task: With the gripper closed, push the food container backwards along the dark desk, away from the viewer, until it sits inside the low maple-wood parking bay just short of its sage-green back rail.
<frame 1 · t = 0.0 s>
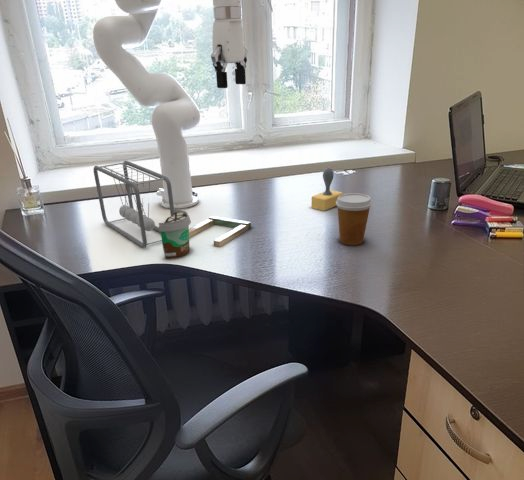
hand: (231, 85, 151), 37 cm above the table, tool pointing down, fingers open, 9 cm apart
disposable coffee cup: (351, 241, 146), on the table
rubber stamp: (327, 206, 174), on the table
parking bay: (215, 233, 154), on the table
food container: (182, 253, 142), on the table
newton's cradle: (139, 232, 158), on the table
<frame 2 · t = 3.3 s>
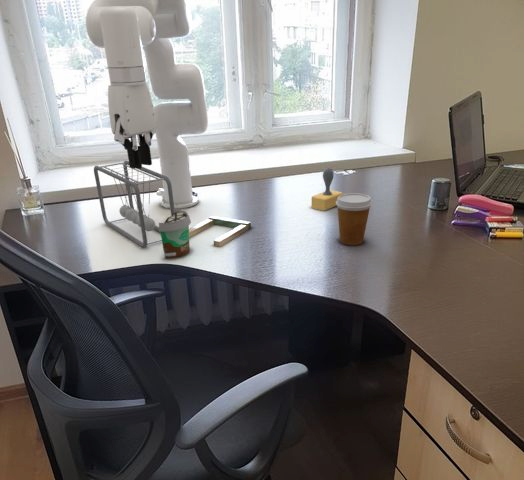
hand: (140, 165, 121), 25 cm above the table, tool pointing down, fingers closed
nothing on the table moved.
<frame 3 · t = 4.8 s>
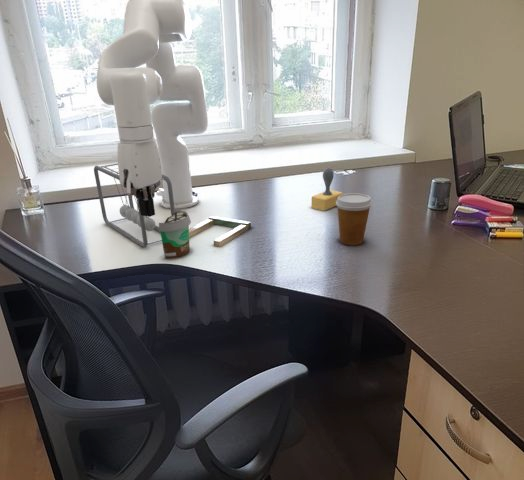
hand: (148, 214, 127), 14 cm above the table, tool pointing down, fingers closed
nothing on the table moved.
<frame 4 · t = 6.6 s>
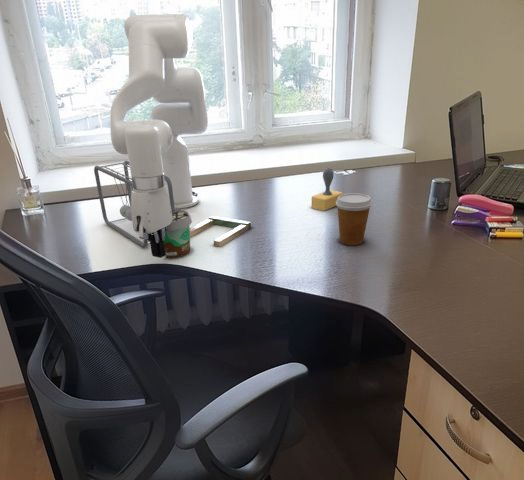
hand: (158, 255, 134), 3 cm above the table, tool pointing down, fingers closed
food container: (182, 252, 142), on the table, touching gripper
everything else where it was.
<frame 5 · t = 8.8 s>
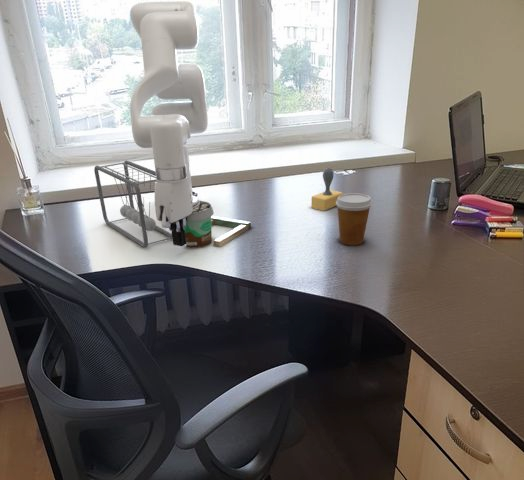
hand: (179, 244, 140), 3 cm above the table, tool pointing down, fingers closed
food container: (204, 243, 148), on the table, touching gripper
everything else where it was.
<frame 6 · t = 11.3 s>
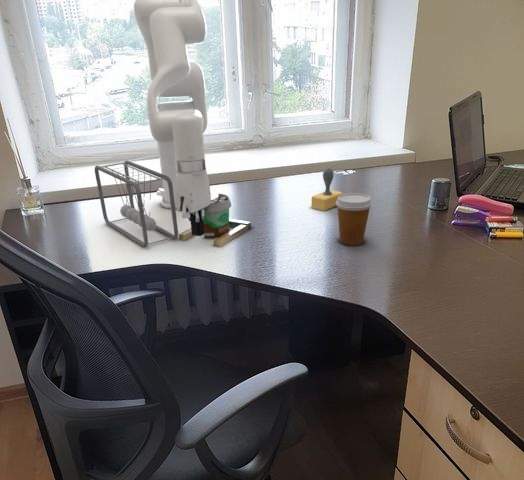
hand: (198, 234, 146), 3 cm above the table, tool pointing down, fingers closed
food container: (221, 234, 154), on the table, touching gripper
everything else where it was.
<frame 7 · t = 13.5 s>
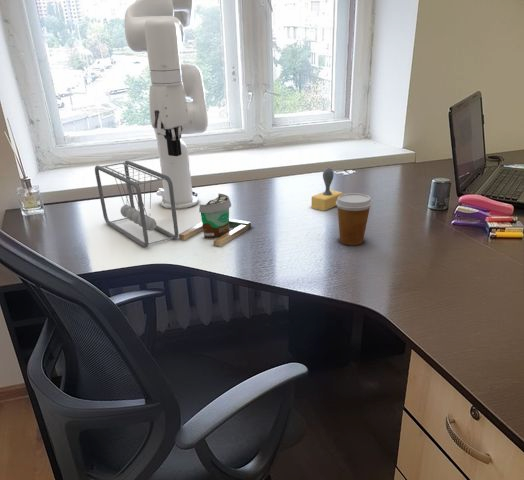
hand: (175, 155, 139), 23 cm above the table, tool pointing down, fingers closed
food container: (221, 234, 154), on the table
everything else where it was.
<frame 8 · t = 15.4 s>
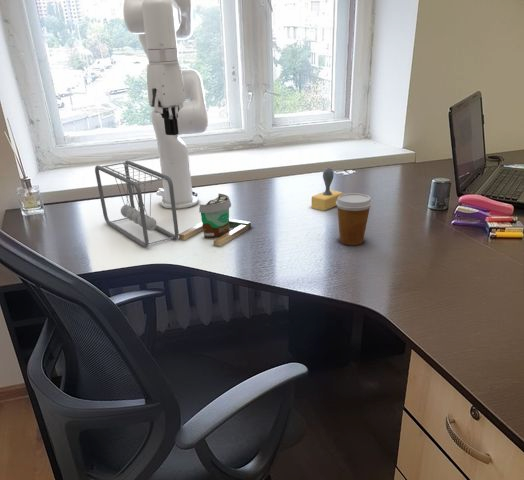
hand: (172, 134, 142), 27 cm above the table, tool pointing down, fingers closed
nothing on the table moved.
at the end: food container 2.5 cm from the target spot, on the table; food container tilted 0°; food container moved 16.8 cm from its start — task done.
